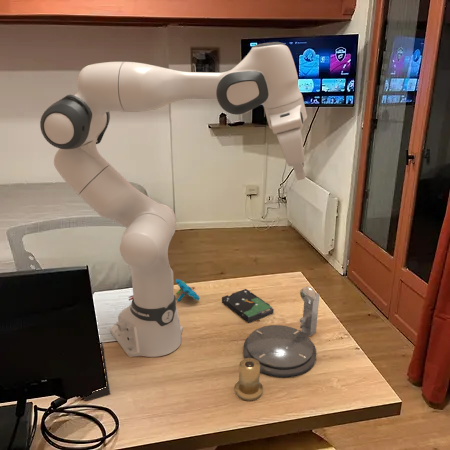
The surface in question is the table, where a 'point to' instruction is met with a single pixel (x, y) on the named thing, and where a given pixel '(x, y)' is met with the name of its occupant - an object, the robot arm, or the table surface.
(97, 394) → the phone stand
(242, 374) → the brass hub
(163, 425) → the table surface
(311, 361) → the turntable base
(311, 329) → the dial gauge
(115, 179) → the robot arm
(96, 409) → the table surface
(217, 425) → the table surface
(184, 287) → the gear
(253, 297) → the disk drive
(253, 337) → the turntable platter
